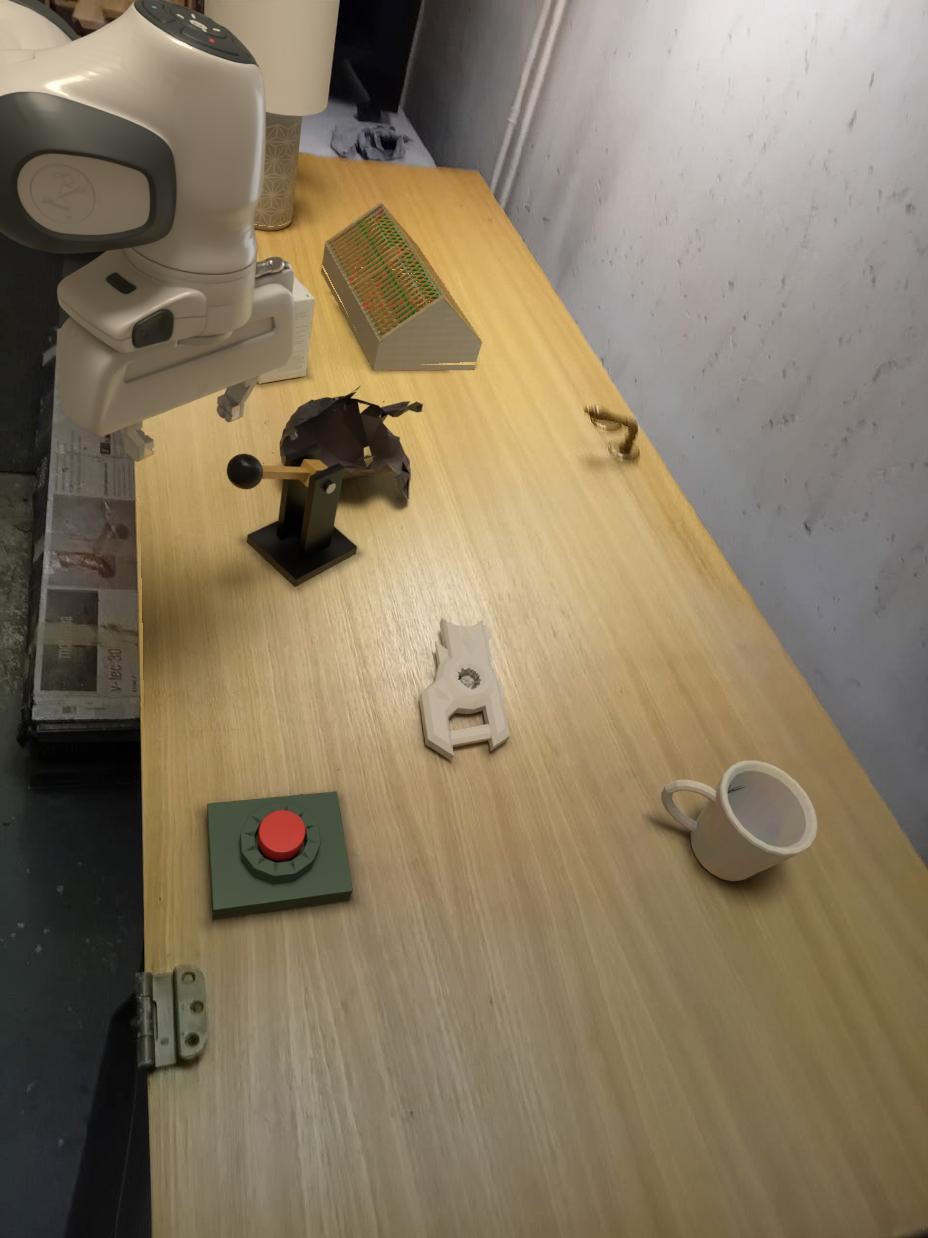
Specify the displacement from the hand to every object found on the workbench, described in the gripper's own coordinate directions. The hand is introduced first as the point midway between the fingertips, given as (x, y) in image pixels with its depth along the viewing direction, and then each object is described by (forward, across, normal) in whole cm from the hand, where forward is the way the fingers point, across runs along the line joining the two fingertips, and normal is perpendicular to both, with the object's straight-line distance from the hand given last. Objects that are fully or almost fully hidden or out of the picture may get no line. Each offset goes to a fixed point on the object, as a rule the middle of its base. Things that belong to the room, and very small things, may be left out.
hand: (186, 434), depth 69 cm
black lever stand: (+27, -20, -2) cm, 34 cm away
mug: (+27, -23, +56) cm, 66 cm away
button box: (+27, +10, +25) cm, 39 cm away
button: (+24, +10, +25) cm, 36 cm away
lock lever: (+15, -14, -2) cm, 20 cm away
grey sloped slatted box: (+27, -73, -31) cm, 84 cm away
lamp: (+27, -76, -70) cm, 107 cm away
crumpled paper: (+27, -33, -8) cm, 44 cm away
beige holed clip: (+27, -18, +26) cm, 41 cm away
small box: (+27, -44, -32) cm, 60 cm away
